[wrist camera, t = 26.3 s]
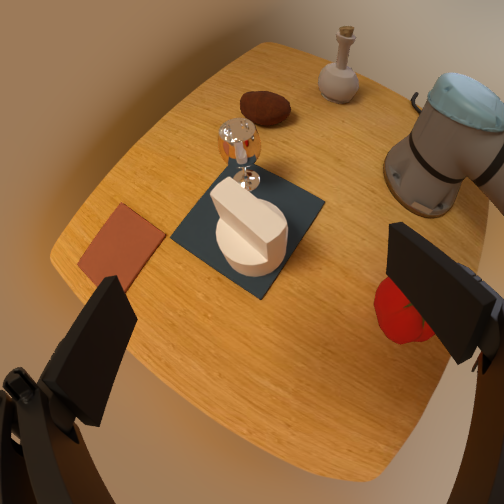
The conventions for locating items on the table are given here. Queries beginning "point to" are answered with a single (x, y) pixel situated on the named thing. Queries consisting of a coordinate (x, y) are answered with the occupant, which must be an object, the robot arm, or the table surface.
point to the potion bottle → (340, 71)
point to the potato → (264, 107)
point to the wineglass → (240, 149)
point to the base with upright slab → (249, 229)
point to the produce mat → (120, 247)
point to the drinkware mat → (270, 189)
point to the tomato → (399, 315)
